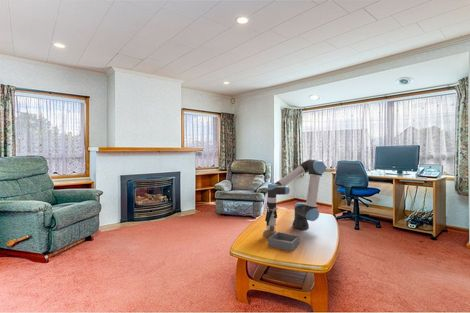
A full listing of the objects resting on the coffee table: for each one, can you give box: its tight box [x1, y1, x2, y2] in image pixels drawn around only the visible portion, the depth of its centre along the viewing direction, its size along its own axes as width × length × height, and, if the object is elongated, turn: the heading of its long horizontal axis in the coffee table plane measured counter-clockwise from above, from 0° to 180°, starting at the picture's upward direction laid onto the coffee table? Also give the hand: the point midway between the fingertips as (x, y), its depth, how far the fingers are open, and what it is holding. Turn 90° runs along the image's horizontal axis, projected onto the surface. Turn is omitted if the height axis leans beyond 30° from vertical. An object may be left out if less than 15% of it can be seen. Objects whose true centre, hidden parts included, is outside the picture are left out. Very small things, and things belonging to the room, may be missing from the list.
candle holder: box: [262, 206, 279, 239], centre depth 214 cm, size 11×11×24 cm
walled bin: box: [267, 231, 301, 252], centre depth 195 cm, size 18×18×6 cm
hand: (271, 227), depth 215 cm, fingers open, 12 cm apart
